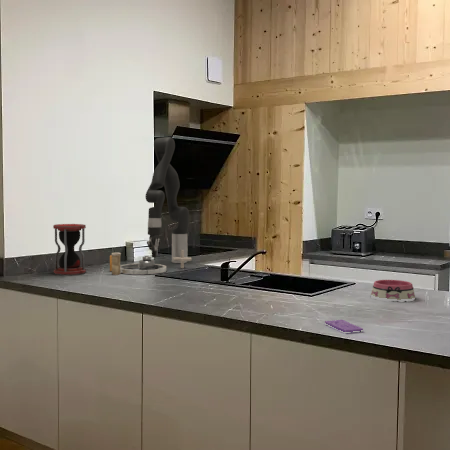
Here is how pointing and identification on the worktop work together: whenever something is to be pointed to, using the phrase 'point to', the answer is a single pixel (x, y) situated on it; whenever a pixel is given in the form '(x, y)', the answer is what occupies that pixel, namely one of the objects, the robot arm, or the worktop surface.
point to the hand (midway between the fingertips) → (154, 257)
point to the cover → (146, 263)
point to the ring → (127, 271)
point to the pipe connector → (182, 259)
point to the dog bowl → (393, 289)
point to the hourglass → (69, 249)
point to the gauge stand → (116, 263)
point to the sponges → (343, 325)
